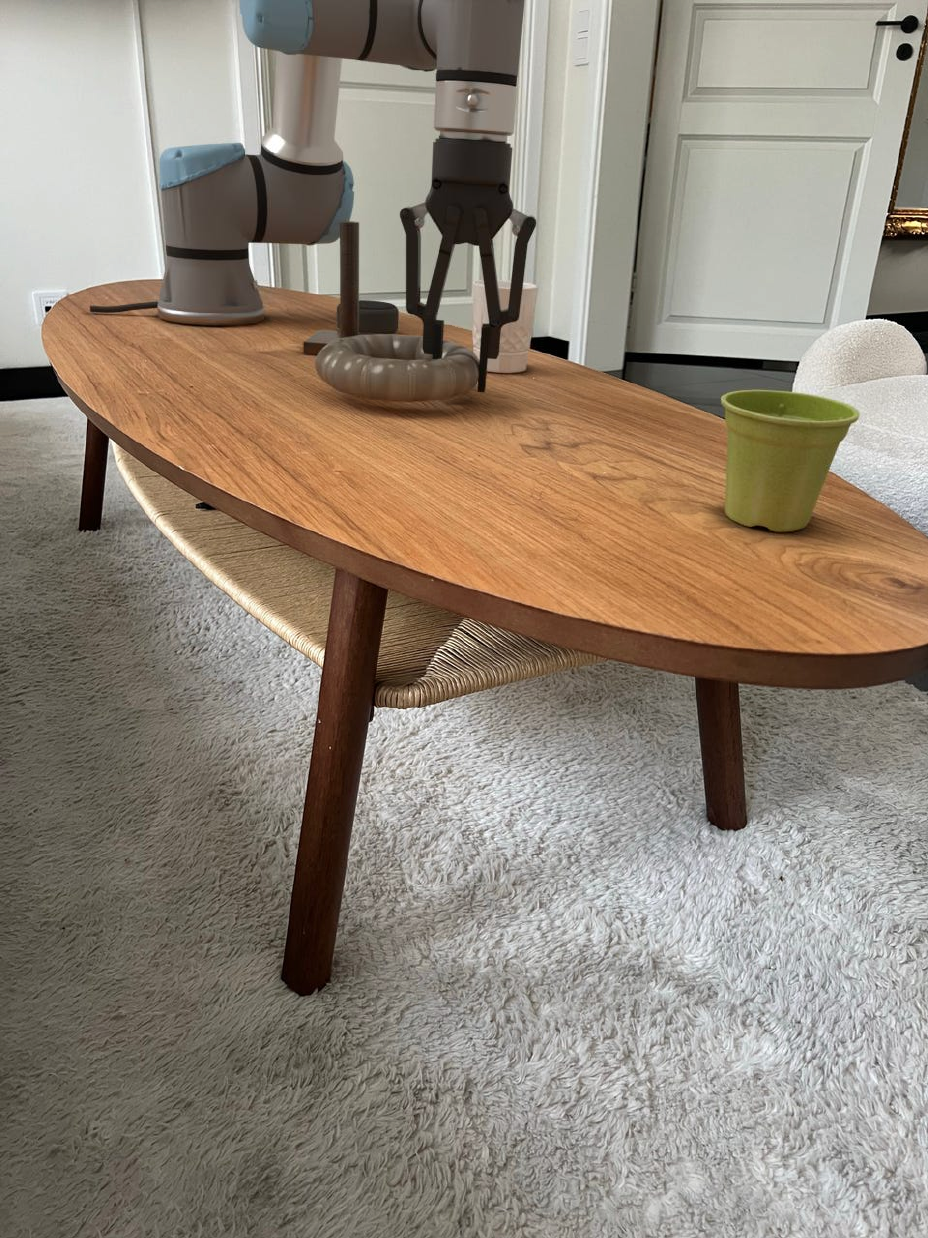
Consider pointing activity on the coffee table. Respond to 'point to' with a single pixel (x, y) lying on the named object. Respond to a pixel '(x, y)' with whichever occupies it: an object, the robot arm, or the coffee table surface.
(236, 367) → the coffee table surface
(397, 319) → the smart speaker
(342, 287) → the stand
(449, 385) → the taupe ribbed ring
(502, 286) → the white cup
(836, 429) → the plant pot
